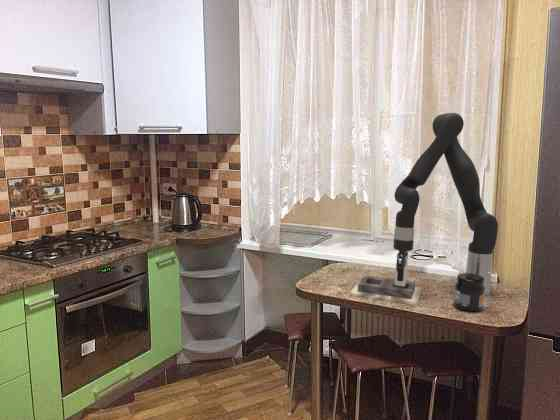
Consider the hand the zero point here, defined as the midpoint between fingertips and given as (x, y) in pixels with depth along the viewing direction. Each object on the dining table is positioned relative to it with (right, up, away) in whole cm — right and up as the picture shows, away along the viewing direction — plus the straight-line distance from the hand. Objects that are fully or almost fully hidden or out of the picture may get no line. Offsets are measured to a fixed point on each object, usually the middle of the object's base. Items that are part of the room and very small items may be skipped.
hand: (400, 278), depth 192 cm
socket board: (-5, -6, +3) cm, 8 cm away
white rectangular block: (0, -2, 0) cm, 2 cm away
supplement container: (+23, -9, -11) cm, 27 cm away
